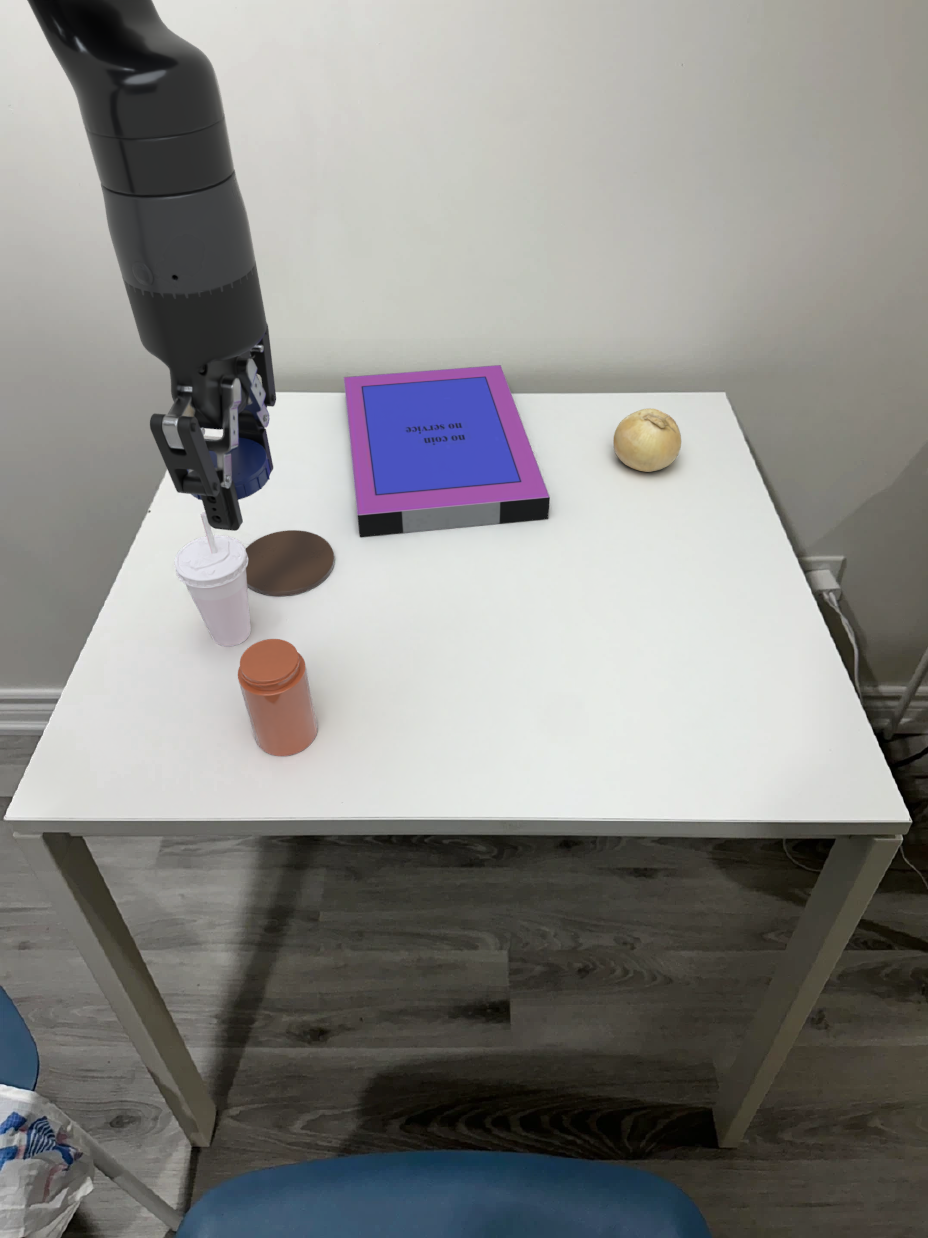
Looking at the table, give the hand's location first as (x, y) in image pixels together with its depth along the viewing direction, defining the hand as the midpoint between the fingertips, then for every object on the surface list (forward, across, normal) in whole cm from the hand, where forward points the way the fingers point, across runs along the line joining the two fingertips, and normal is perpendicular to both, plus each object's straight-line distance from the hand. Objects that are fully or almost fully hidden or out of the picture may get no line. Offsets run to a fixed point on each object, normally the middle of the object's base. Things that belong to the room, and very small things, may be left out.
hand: (243, 498), depth 60 cm
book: (+23, +41, -6) cm, 47 cm away
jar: (+22, -3, -1) cm, 23 cm away
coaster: (+22, +18, +6) cm, 29 cm away
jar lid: (-3, 0, +1) cm, 3 cm away
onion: (+23, +43, -30) cm, 58 cm away
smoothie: (+23, +7, +8) cm, 25 cm away
